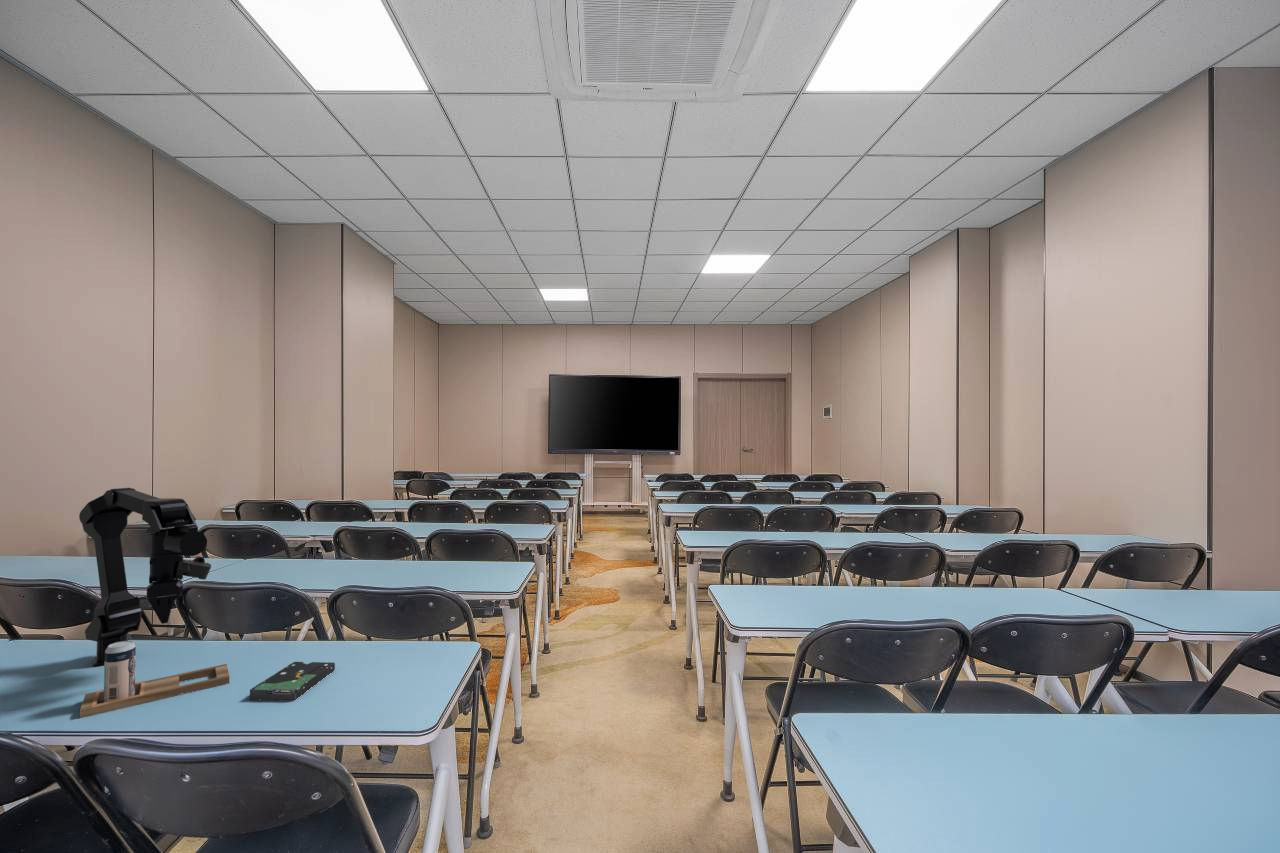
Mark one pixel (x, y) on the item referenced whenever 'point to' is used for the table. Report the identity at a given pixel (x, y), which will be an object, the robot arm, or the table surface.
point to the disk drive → (291, 681)
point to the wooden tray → (156, 690)
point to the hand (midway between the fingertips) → (164, 617)
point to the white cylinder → (119, 671)
